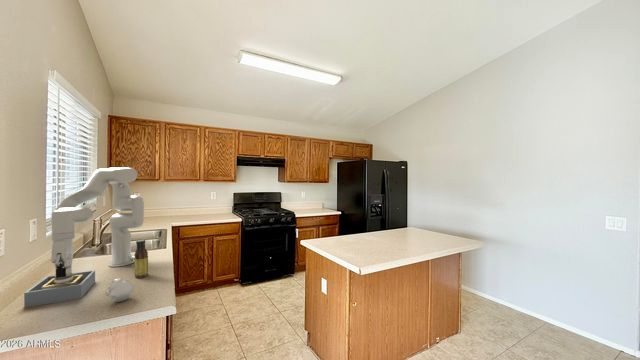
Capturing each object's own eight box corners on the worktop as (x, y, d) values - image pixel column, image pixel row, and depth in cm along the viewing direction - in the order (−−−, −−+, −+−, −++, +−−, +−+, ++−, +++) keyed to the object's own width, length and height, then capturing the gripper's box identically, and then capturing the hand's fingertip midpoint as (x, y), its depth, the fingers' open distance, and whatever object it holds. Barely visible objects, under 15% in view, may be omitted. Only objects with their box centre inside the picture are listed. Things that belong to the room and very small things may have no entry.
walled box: (95, 281, 133) (95, 270, 133) (81, 298, 115) (81, 284, 115) (47, 288, 125) (47, 276, 124) (24, 307, 107) (24, 293, 107)
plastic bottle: (77, 286, 122) (76, 244, 122) (58, 292, 116) (58, 248, 115) (68, 284, 124) (68, 243, 124) (50, 290, 118) (49, 246, 118)
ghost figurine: (111, 298, 115) (111, 275, 115) (136, 294, 119) (136, 273, 119) (102, 307, 107) (102, 283, 107) (129, 303, 110) (129, 280, 110)
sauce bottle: (139, 274, 143) (138, 238, 143) (150, 273, 144) (150, 238, 144) (131, 278, 137) (131, 241, 137) (143, 278, 137) (143, 241, 137)
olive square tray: (83, 284, 127) (83, 274, 127) (74, 293, 118) (74, 282, 117) (52, 288, 122) (52, 278, 122) (41, 298, 112) (41, 287, 112)
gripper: (60, 233, 125) (60, 270, 126) (43, 241, 110) (43, 283, 111) (80, 231, 129) (81, 267, 129) (66, 239, 114) (67, 279, 114)
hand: (63, 274), depth 120 cm, fingers closed on plastic bottle, 5 cm apart
